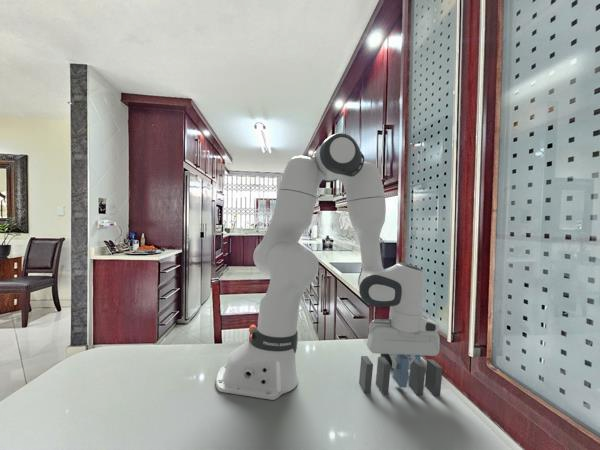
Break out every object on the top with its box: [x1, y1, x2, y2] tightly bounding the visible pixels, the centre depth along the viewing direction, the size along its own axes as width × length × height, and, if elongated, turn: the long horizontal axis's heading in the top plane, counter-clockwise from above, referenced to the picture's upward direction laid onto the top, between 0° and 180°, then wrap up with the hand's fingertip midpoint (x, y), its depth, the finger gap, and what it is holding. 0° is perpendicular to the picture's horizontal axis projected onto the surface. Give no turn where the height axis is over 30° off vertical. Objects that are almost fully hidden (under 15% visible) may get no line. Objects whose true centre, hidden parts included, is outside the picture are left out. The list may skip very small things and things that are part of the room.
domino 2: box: [375, 356, 392, 395], centre depth 83 cm, size 2×5×8 cm, turn 5°
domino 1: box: [358, 355, 374, 394], centre depth 82 cm, size 2×5×8 cm, turn 5°
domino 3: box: [392, 354, 409, 389], centre depth 83 cm, size 2×5×8 cm, turn 5°
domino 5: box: [424, 358, 443, 397], centre depth 84 cm, size 2×5×8 cm, turn 5°
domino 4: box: [408, 359, 427, 397], centre depth 83 cm, size 2×5×8 cm, turn 5°
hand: (400, 368), depth 83 cm, fingers closed on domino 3, 2 cm apart
